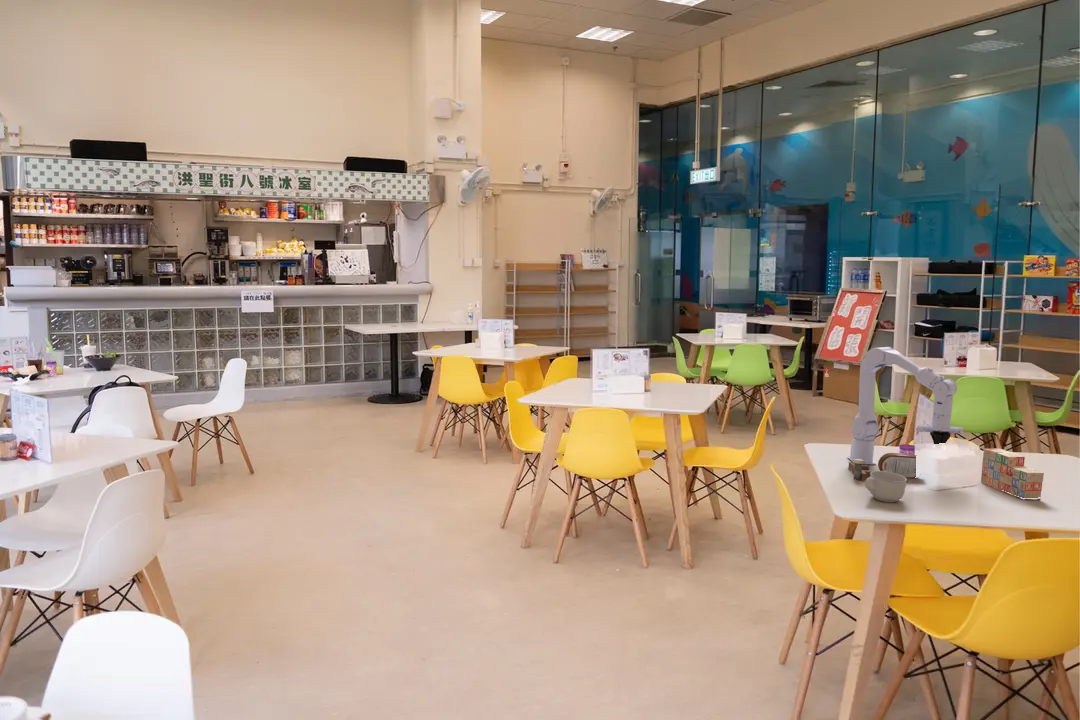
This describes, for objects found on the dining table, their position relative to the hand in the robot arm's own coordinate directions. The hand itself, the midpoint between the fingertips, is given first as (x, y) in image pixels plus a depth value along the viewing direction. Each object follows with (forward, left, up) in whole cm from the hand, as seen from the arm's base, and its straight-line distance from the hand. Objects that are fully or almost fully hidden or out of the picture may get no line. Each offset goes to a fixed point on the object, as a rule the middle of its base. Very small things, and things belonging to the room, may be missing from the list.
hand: (938, 452), depth 283 cm
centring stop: (0, -26, -9) cm, 28 cm away
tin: (0, -12, -10) cm, 15 cm away
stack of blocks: (+10, +20, -10) cm, 25 cm away
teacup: (+30, -28, -10) cm, 42 cm away
